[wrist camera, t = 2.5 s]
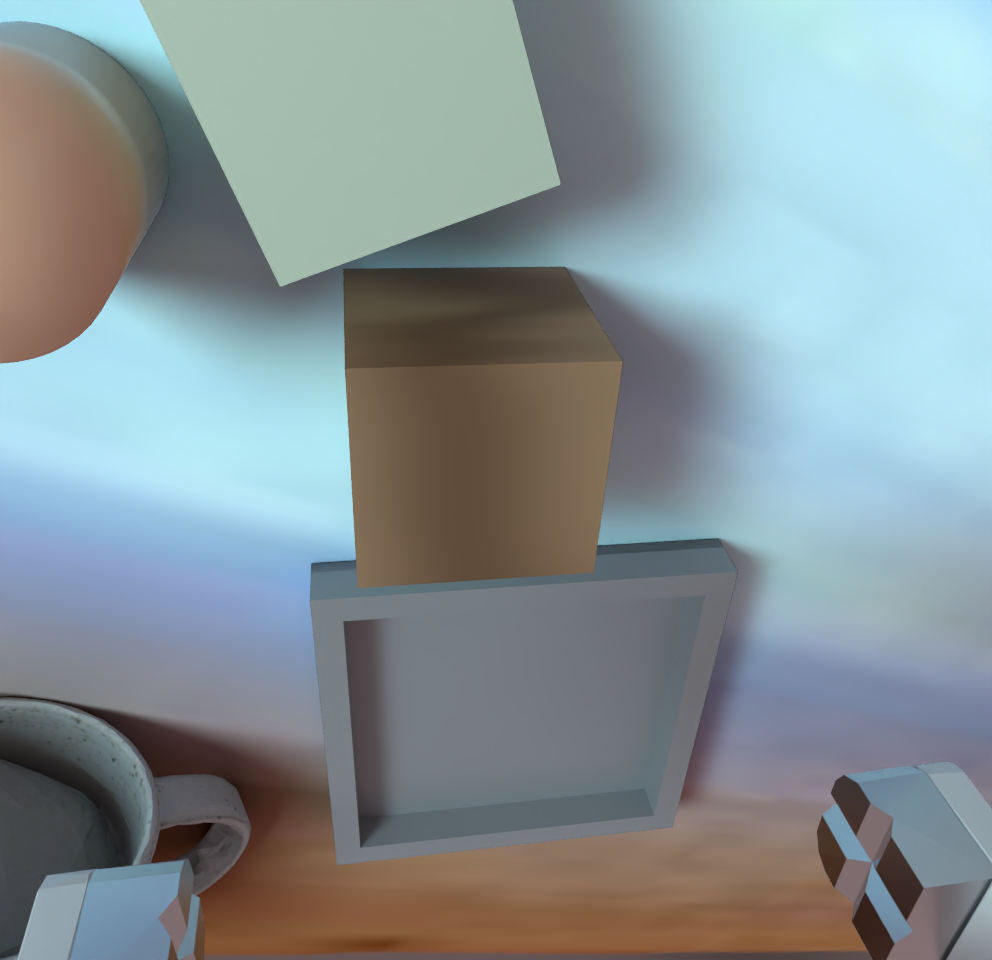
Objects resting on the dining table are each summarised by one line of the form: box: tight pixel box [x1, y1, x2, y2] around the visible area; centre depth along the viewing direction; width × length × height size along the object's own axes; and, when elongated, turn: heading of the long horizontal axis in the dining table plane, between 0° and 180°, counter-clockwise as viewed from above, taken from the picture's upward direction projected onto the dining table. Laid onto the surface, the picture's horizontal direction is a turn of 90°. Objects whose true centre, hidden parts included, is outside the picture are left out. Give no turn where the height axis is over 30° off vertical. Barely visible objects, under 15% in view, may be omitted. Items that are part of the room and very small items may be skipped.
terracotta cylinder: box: [0, 21, 169, 363], centre depth 15 cm, size 4×4×5 cm
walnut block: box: [343, 267, 623, 588], centre depth 19 cm, size 5×5×5 cm
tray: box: [310, 539, 738, 865], centre depth 27 cm, size 12×12×2 cm
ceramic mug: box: [0, 697, 251, 960], centre depth 24 cm, size 11×8×8 cm
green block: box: [140, 0, 561, 287], centre depth 15 cm, size 5×5×4 cm
